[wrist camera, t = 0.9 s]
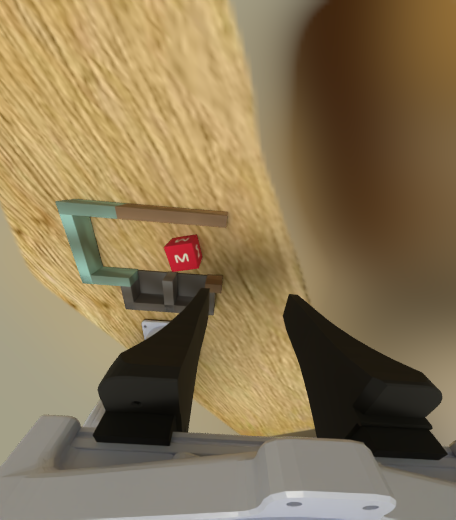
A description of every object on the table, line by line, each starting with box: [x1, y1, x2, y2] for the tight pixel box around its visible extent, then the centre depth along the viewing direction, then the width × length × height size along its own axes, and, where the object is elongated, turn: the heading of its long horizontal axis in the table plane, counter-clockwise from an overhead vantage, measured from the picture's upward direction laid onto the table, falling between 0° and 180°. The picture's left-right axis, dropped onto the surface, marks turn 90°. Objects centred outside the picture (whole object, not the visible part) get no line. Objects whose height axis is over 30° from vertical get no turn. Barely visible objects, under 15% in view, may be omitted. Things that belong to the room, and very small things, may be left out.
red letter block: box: [164, 235, 202, 272], centre depth 20 cm, size 3×3×3 cm
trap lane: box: [55, 199, 228, 315], centre depth 21 cm, size 13×17×2 cm
